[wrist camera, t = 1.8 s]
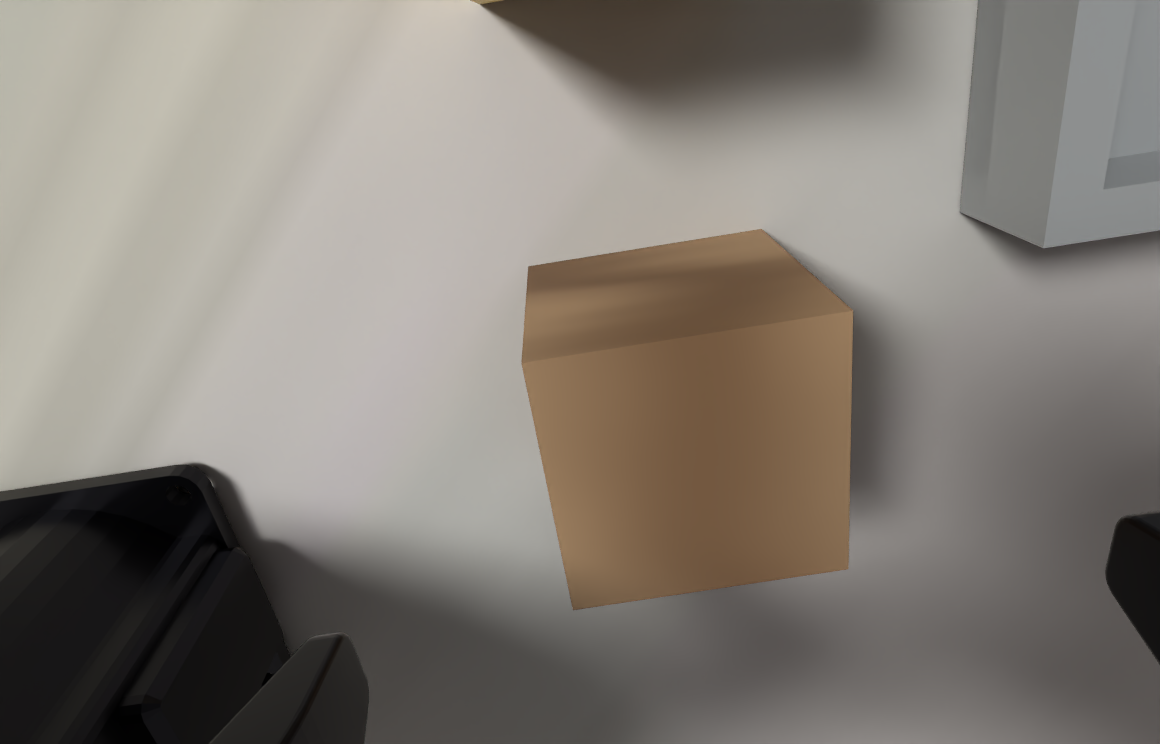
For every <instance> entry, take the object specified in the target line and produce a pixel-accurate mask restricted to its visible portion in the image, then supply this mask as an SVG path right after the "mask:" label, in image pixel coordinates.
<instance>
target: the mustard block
mask: <svg viewBox="0 0 1160 744" xmlns="http://www.w3.org/2000/svg"><path fill="white" fill-rule="evenodd" d="M471 1H473V2H476V3H478V4H485V3H491V2H497V1H503V0H471Z"/></svg>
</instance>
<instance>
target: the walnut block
mask: <svg viewBox="0 0 1160 744" xmlns="http://www.w3.org/2000/svg"><path fill="white" fill-rule="evenodd" d="M852 341H853V310H852V309H851V308H849V307H848V306H847V305H846V304H845V303H844V302H843V301H842V300H841V299H839V298H838V297H837V296H836V295H835V294H834V293H833V292H832V291H830V290H829V289H828V288H827V287H826V286H825V285H824V284H823V283H821V282H820V281H819V280H818V279H817V278H816V277H815V276H814V275H813V274H811V273H810V272H809V271H808V270H807V269H806V268H805V267H804V266H802V265H801V264H800V263H799V262H798V261H797V260H796V259H795V258H793V257H792V256H791V255H790V254H789V253H788V252H787V251H786V250H784V249H783V248H782V247H781V246H780V245H779V244H778V243H777V242H776V241H774V240H773V239H772V238H771V237H770V236H769V235H768V234H767V233H765V232H764V231H763V230H762V229H759V230H752V231H746V232H740V233H734V234H728V235H721V236H715V237H709V238H703V239H696V240H690V241H684V242H678V243H672V244H665V245H659V246H653V247H647V248H640V249H634V250H628V251H622V252H616V253H609V254H603V255H597V256H591V257H584V258H578V259H572V260H566V261H560V262H553V263H547V264H541V265H535V266H528V279H527V293H526V307H525V321H524V336H523V350H522V367H523V372H524V377H525V382H526V387H527V391H528V396H529V401H530V406H531V411H532V415H533V420H534V425H535V430H536V435H537V439H538V444H539V449H540V454H541V459H542V463H543V468H544V473H545V478H546V483H547V487H548V492H549V497H550V502H551V507H552V511H553V516H554V521H555V526H556V531H557V535H558V540H559V545H560V550H561V555H562V559H563V564H564V569H565V574H566V579H567V584H568V588H569V593H570V598H571V603H572V607H573V610H577V609H584V608H591V607H597V606H604V605H611V604H617V603H624V602H631V601H638V600H644V599H651V598H658V597H664V596H671V595H678V594H685V593H691V592H698V591H705V590H711V589H718V588H725V587H732V586H738V585H745V584H752V583H758V582H765V581H772V580H779V579H785V578H792V577H799V576H806V575H812V574H819V573H826V572H832V571H839V570H846V569H848V562H849V507H850V452H851V397H852Z"/></svg>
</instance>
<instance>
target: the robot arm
mask: <svg viewBox="0 0 1160 744" xmlns="http://www.w3.org/2000/svg"><path fill="white" fill-rule="evenodd" d="M175 485H177V486H182V487H184V488H186V489H187V490H188V491H189V492H190V493H191V494H185V493H183V492H181V491H179V490H178V489H177V487H176V486H175ZM1105 573H1106V580H1107V584H1108V586H1109V589H1110V591H1111V592H1112V594H1113V596H1114V597H1115V599H1116V600H1117V602H1118V603H1119V605H1120V606H1121V608H1122V609H1123V611H1124V612H1125V614H1126V615H1127V617H1128V618H1129V620H1130V621H1131V623H1132V624H1133V626H1134V627H1135V629H1136V630H1137V632H1138V633H1139V635H1140V636H1141V637H1142V639H1143V640H1144V642H1145V643H1146V645H1147V646H1148V648H1149V649H1150V651H1151V652H1152V654H1153V655H1154V657H1155V658H1156V660H1157V661H1158V663H1159V664H1160V512H1157V511H1156V512H1147V513H1140V514H1133V515H1127V516H1124V517H1122V518H1121V519H1120V520H1119V521H1118V522H1117V524H1116V526H1115V530H1114V534H1113V539H1112V543H1111V547H1110V552H1109V556H1108V560H1107V565H1106V570H1105ZM282 636H283V632H282V630H281V627H280V625H279V623H278V621H277V619H276V616H275V614H274V612H273V610H272V608H271V605H270V603H269V601H268V599H267V597H266V594H265V592H264V590H263V588H262V586H261V583H260V581H259V579H258V577H257V575H256V572H255V570H254V568H253V566H252V564H251V561H250V559H249V557H248V555H247V554H246V553H245V552H244V551H243V550H242V549H241V547H240V545H239V543H238V541H237V539H236V536H235V534H234V532H233V530H232V528H231V525H230V523H229V521H228V519H227V517H226V514H225V512H224V510H223V508H222V506H221V504H220V501H219V499H218V497H217V495H216V493H215V490H214V488H213V486H212V484H211V482H210V480H209V479H208V477H207V476H206V474H205V473H203V472H202V471H200V470H199V469H198V468H195V467H192V466H189V465H174V466H167V467H161V468H154V469H148V470H141V471H135V472H128V473H121V474H115V475H108V476H102V477H95V478H88V479H82V480H75V481H69V482H62V483H56V484H49V485H42V486H36V487H29V488H23V489H16V490H9V491H3V492H0V744H364V740H365V731H366V722H367V713H368V704H369V688H368V682H367V679H366V676H365V673H364V671H363V668H362V666H361V663H360V661H359V658H358V655H357V653H356V650H355V648H354V645H353V643H352V641H351V639H350V637H349V636H348V635H347V634H346V633H343V632H337V633H330V634H324V635H317V636H314V637H311V638H309V639H308V640H307V641H306V642H305V643H304V644H303V645H302V646H301V647H300V648H299V649H298V650H297V651H296V652H295V653H294V654H293V655H292V656H291V657H290V655H289V653H288V650H287V648H286V646H285V644H284V642H283V639H282ZM271 673H272V674H271Z"/></svg>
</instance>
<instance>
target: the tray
mask: <svg viewBox="0 0 1160 744" xmlns="http://www.w3.org/2000/svg"><path fill="white" fill-rule="evenodd" d="M960 212H961V213H963V214H965V215H967V216H970V217H972V218H974V219H977V220H979V221H981V222H984V223H986V224H988V225H991V226H993V227H995V228H998V229H1000V230H1002V231H1004V232H1007V233H1009V234H1011V235H1014V236H1016V237H1018V238H1021V239H1023V240H1025V241H1028V242H1030V243H1032V244H1034V245H1037V246H1039V247H1041V248H1049V247H1055V246H1062V245H1068V244H1075V243H1081V242H1088V241H1094V240H1100V239H1107V238H1113V237H1120V236H1126V235H1133V234H1139V233H1146V232H1152V231H1159V230H1160V0H978V10H977V22H976V33H975V44H974V56H973V67H972V78H971V89H970V101H969V112H968V123H967V135H966V146H965V157H964V168H963V180H962V191H961V202H960Z"/></svg>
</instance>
